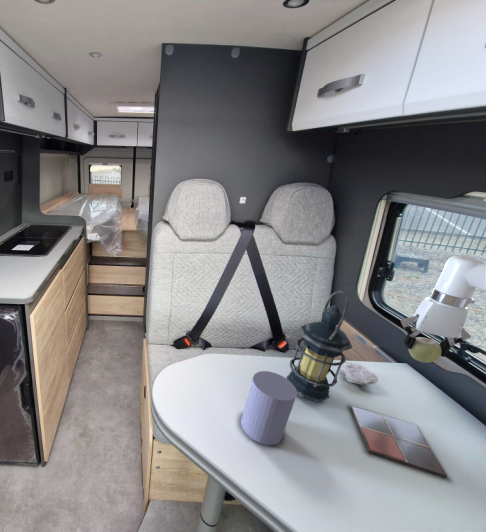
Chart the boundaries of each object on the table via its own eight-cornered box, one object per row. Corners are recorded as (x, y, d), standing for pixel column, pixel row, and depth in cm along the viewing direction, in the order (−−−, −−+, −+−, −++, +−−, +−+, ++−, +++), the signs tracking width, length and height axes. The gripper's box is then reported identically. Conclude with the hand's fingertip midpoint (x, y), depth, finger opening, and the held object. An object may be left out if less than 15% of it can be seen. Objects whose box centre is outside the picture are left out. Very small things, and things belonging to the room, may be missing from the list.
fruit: (441, 369, 91) (453, 347, 88) (411, 362, 93) (422, 340, 90) (427, 355, 97) (438, 333, 95) (399, 349, 99) (409, 327, 97)
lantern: (280, 371, 106) (309, 279, 94) (323, 383, 103) (359, 288, 90) (285, 400, 94) (320, 297, 81) (334, 414, 90) (378, 309, 78)
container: (238, 435, 80) (251, 389, 75) (243, 408, 89) (254, 366, 84) (281, 453, 76) (297, 406, 71) (281, 423, 85) (296, 380, 80)
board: (414, 427, 88) (415, 424, 87) (445, 478, 74) (447, 475, 73) (350, 408, 93) (351, 405, 92) (368, 453, 78) (369, 450, 78)
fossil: (354, 383, 99) (342, 355, 107) (346, 392, 104) (334, 365, 111) (383, 385, 98) (369, 357, 106) (374, 394, 103) (360, 366, 110)
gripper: (480, 300, 88) (452, 352, 94) (406, 287, 94) (385, 336, 100) (498, 311, 82) (467, 366, 88) (417, 296, 87) (394, 348, 93)
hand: (423, 350), depth 94 cm, fingers closed on fruit, 7 cm apart
